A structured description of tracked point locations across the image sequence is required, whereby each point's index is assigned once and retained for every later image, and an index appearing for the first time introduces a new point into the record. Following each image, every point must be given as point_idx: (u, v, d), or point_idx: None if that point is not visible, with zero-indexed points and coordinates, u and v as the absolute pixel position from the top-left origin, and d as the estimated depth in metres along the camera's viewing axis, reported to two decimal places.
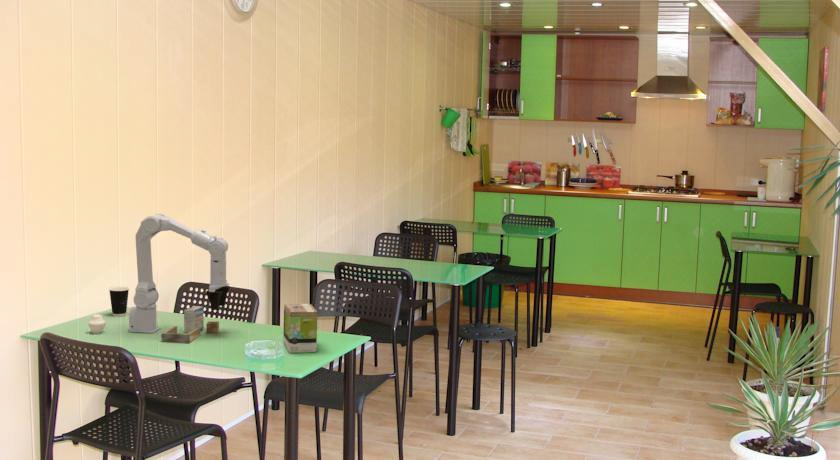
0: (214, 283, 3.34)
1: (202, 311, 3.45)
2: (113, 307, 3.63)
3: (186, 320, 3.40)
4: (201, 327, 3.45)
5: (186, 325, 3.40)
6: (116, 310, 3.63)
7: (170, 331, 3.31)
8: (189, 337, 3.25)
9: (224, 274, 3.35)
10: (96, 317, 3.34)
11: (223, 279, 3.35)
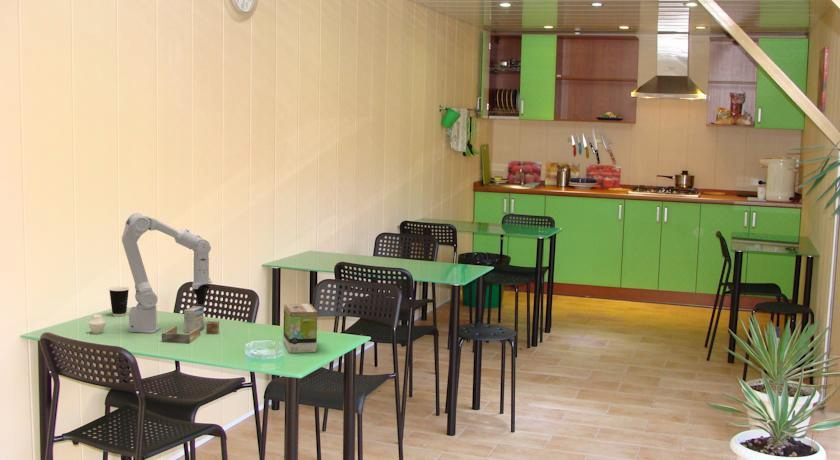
0: (197, 281, 3.47)
1: (202, 311, 3.45)
2: (113, 307, 3.63)
3: (186, 320, 3.40)
4: (201, 327, 3.45)
5: (186, 325, 3.40)
6: (116, 310, 3.63)
7: (170, 331, 3.31)
8: (189, 337, 3.25)
9: (207, 272, 3.48)
10: (96, 317, 3.34)
11: (206, 277, 3.48)
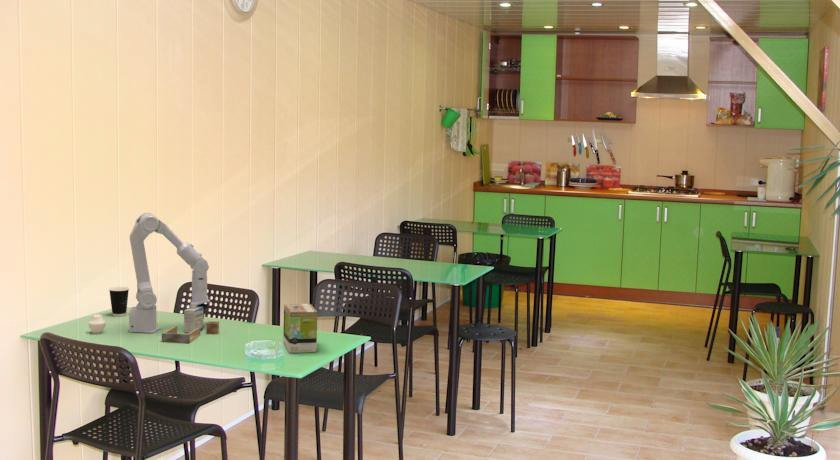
0: (195, 300, 3.46)
1: (202, 311, 3.45)
2: (113, 307, 3.63)
3: (186, 320, 3.39)
4: (201, 327, 3.45)
5: (186, 325, 3.39)
6: (116, 310, 3.63)
7: (170, 331, 3.31)
8: (189, 337, 3.25)
9: (205, 291, 3.47)
10: (96, 317, 3.34)
11: (204, 296, 3.47)
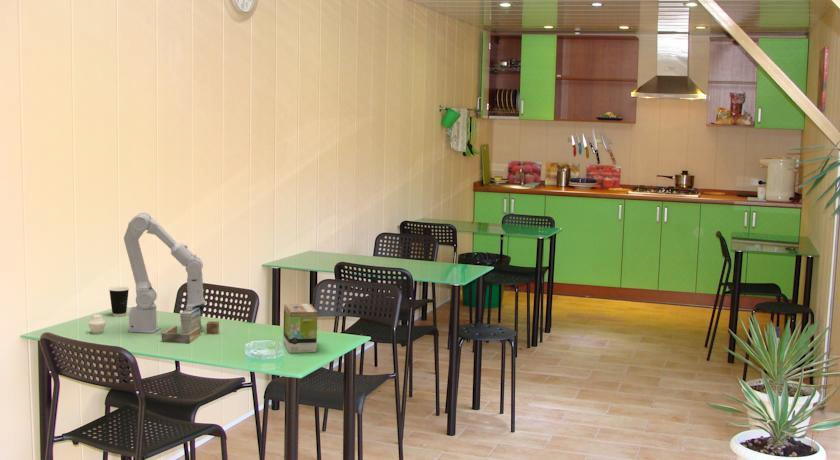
0: (191, 301, 3.40)
1: (199, 312, 3.40)
2: (113, 307, 3.63)
3: (183, 323, 3.35)
4: None
5: (183, 327, 3.35)
6: (116, 310, 3.63)
7: (170, 331, 3.31)
8: (189, 337, 3.25)
9: (201, 292, 3.41)
10: (96, 317, 3.34)
11: (200, 297, 3.41)
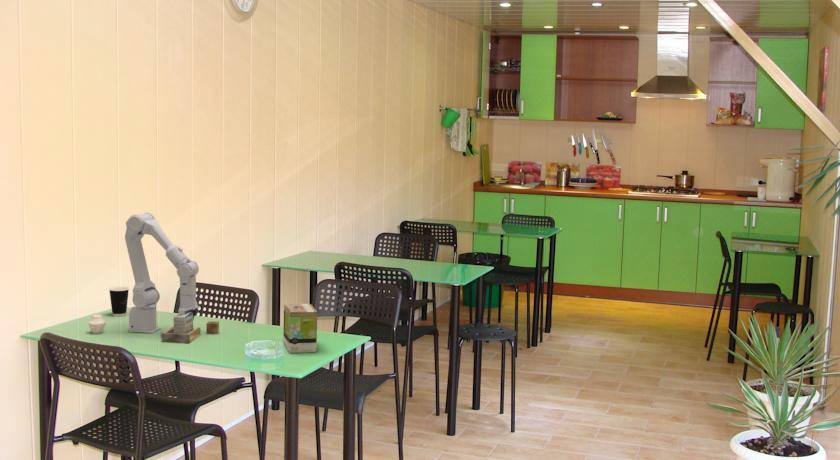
0: (184, 306, 3.33)
1: (192, 316, 3.34)
2: (113, 307, 3.63)
3: (176, 327, 3.28)
4: None
5: (176, 332, 3.28)
6: (116, 310, 3.63)
7: (170, 331, 3.31)
8: (189, 337, 3.25)
9: (194, 297, 3.35)
10: (96, 317, 3.34)
11: (193, 302, 3.34)
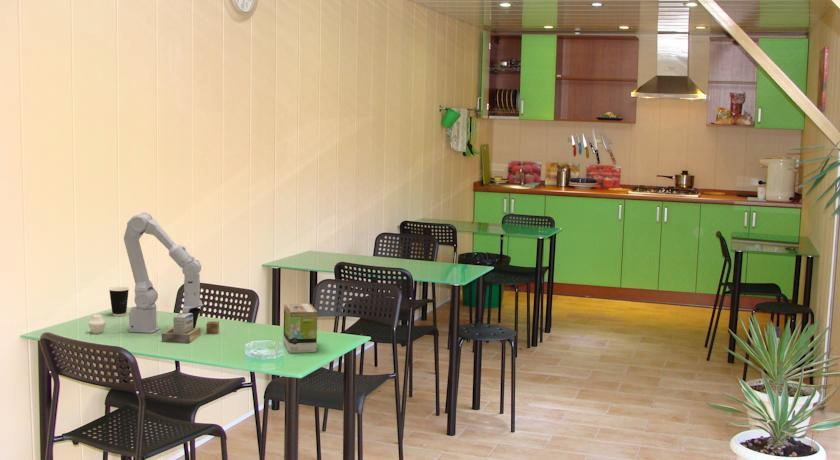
0: (188, 304, 3.38)
1: (192, 318, 3.33)
2: (113, 307, 3.63)
3: (176, 327, 3.27)
4: None
5: (175, 332, 3.28)
6: (116, 310, 3.63)
7: (170, 331, 3.31)
8: (189, 337, 3.25)
9: (198, 295, 3.39)
10: (96, 317, 3.34)
11: (197, 300, 3.39)
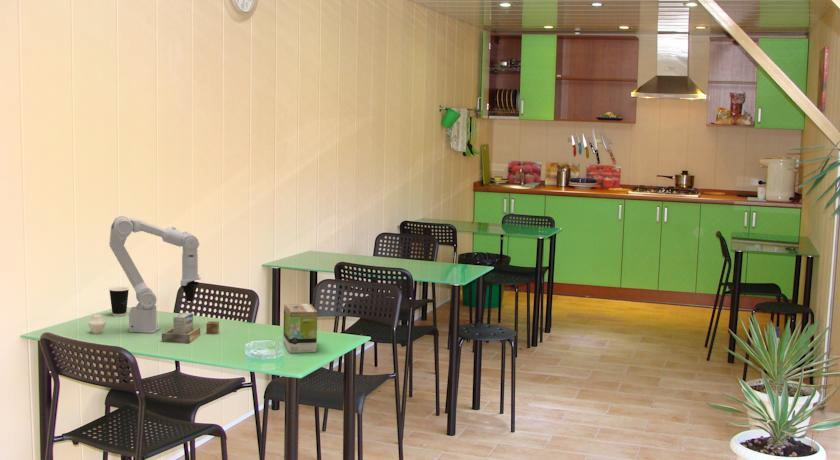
0: (186, 277, 3.43)
1: (192, 318, 3.33)
2: (113, 307, 3.63)
3: (176, 327, 3.27)
4: None
5: (175, 332, 3.28)
6: (116, 310, 3.63)
7: (170, 331, 3.31)
8: (189, 337, 3.25)
9: (195, 268, 3.44)
10: (96, 317, 3.34)
11: (194, 273, 3.44)
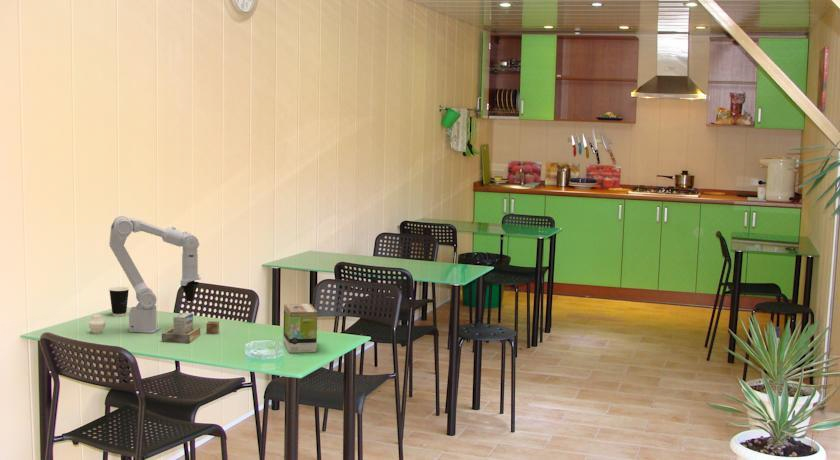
0: (186, 277, 3.43)
1: (192, 318, 3.33)
2: (113, 307, 3.63)
3: (176, 327, 3.27)
4: None
5: (175, 332, 3.28)
6: (116, 310, 3.63)
7: (170, 331, 3.31)
8: (189, 337, 3.25)
9: (195, 268, 3.44)
10: (96, 317, 3.34)
11: (194, 273, 3.44)
